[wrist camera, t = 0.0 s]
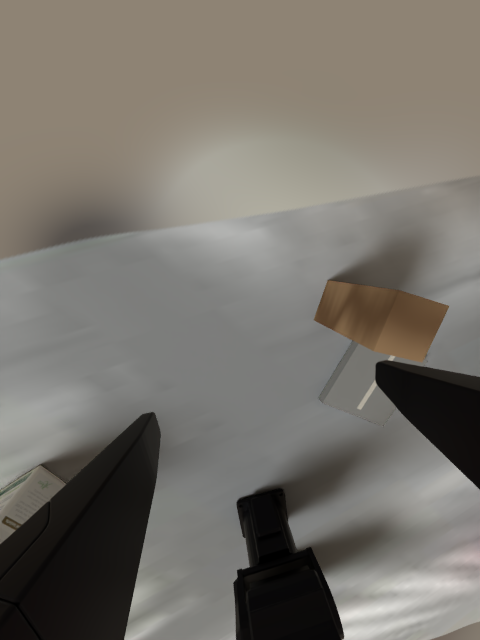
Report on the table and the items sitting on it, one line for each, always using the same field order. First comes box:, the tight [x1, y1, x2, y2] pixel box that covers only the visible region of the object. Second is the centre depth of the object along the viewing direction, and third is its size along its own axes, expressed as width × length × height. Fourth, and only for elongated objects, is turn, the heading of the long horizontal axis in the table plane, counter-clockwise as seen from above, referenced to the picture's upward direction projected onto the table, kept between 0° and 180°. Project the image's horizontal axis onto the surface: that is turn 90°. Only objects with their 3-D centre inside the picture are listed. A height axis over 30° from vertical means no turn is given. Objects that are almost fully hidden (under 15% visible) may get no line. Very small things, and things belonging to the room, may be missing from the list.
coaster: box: [319, 341, 427, 426], centre depth 27 cm, size 10×10×1 cm
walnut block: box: [314, 280, 449, 362], centre depth 20 cm, size 4×4×9 cm
